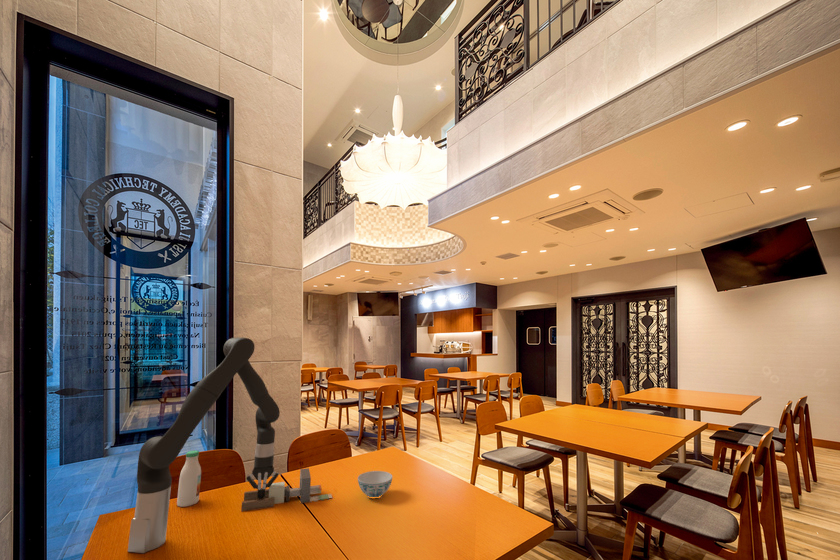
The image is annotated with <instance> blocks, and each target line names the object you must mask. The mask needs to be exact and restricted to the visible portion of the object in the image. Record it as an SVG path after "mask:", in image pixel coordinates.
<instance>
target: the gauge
mask: <svg viewBox="0 0 840 560" xmlns="http://www.w3.org/2000/svg"><path fill="white" fill-rule="evenodd" d="M299 472H300V474H299V488H300V487H301V493H300V496H299V497H300V498H299V501H300V502H301V503H300V502H299V503H300V504H306V502H307V503H312V501H314V502H319V501H318V500H321V501H325V500H324V499H328V500H330V499H329V498H332V499H333V496H332V493H329V494H326V493H325V494H320V495H319V494H318V495H314V496H311V494H310V486H312V484H311V480H312V477H311V473H310V468H309V467H308V468H306V467H305V468H300V471H299ZM261 491H262V490H261ZM257 495H258V489H255V490H250V491H244V493H243V501H241V511H240V512H247V511H253V510H254V511H255V510H261V509H266V508H274V507H275V504H274V499H275V497H272V498H269V488H266V489H265V496H264V497H263V499H259V498H258V497H257Z"/></svg>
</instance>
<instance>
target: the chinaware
mask: <svg viewBox="0 0 840 560" xmlns="http://www.w3.org/2000/svg"><path fill="white" fill-rule="evenodd" d="M392 480H393V475H392V474H391V472H388V471H382V470H372V471H367V472H363V473H360V474H359V475H358V476H357V484H358V486H359V488H360V490H361V492H362V493H363V494H365V495H366V497H367V496H369V497H379V496H381V495H383V496H384V494H385V493H386V492H387V491H388V490H389V489H390V487H391V485H392Z"/></svg>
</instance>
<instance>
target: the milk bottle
mask: <svg viewBox="0 0 840 560" xmlns="http://www.w3.org/2000/svg"><path fill="white" fill-rule="evenodd" d="M199 454H200V451H199V450H196V449H195V450H189V451H187V452H186V453H185V463H184V465H183V467H182V469H181V471H180V475H179V480H178V487H177V488H178V490H177V500H176V505H177V507H180V508H181V507H182V508H184V507H190V506H194V505H195V504H197V503H199V500H200V491H201V489H200V488H201V480H202V479H201V478H202V467H201V465H200V463H199V459H198V458H199Z"/></svg>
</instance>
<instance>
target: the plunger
mask: <svg viewBox="0 0 840 560" xmlns="http://www.w3.org/2000/svg"><path fill="white" fill-rule="evenodd" d="M286 487H287V493H286V497H285V502H290V498H294V497H300V493H301V487H300V486H299V487H295V488H290V484H289V485H286ZM322 490H323V489H322V485H321V484H317V485H316V484H315V485H310V495H317V494H321V493H322Z"/></svg>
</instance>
